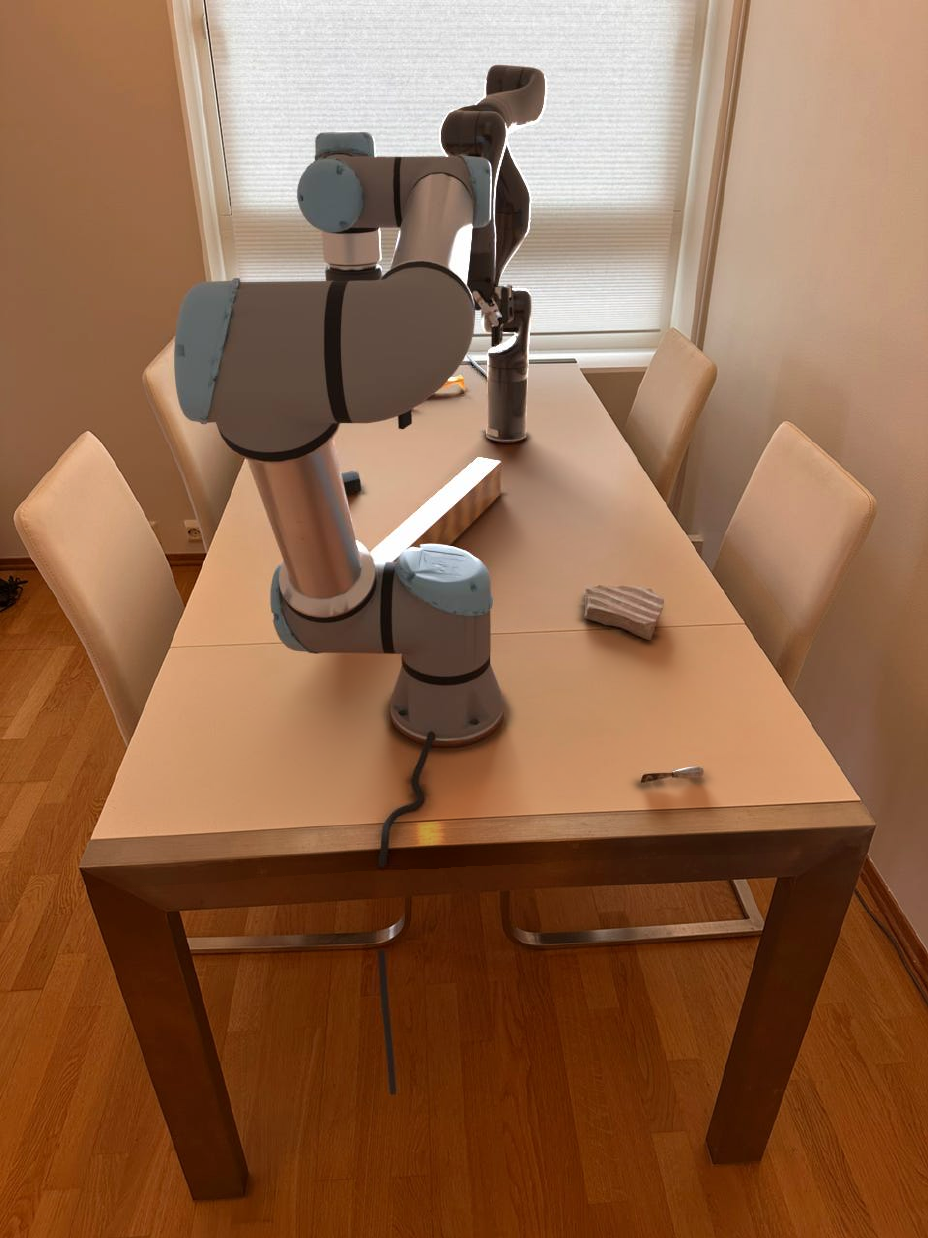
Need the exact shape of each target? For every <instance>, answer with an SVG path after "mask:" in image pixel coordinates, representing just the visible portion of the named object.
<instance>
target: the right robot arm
mask: <svg viewBox="0 0 928 1238" xmlns="http://www.w3.org/2000/svg"><path fill="white" fill-rule="evenodd" d="M547 88H548V85H547V78H546V76H545V74H544V72H543V71H542V70H541V69H539V68H535V67H532V66H523V65H509V64H495V65H492V66H490V67H489V69H488V71H487V74H486V78H485V83H484V96H483V97H482V98H480V99H479V101H477V102H476V103H474V104H471V105H466V106H465V105H464V106H461V107H458V108H455V109H452V110H450V111H449V112H448V113H447V114H446V116H445V117H444V119H443V120H442V123H441V125H440V128H439V144H440V147H441V150H442V152H443V153H444V154H445V156H457V155H463V156H470V157H482V158H485V159H487V160H488V161H489V163H490V165H491V219H490V222H489V224H488V225H487V226H484V227H479V228H472V234H471V244H470V255H469V266H468V277H467V286H468V288H469V290H470V292H471V294H472V297H473V301H474V305H475V311H479V312H480V319H481V326H482V329H483V331H485V332H486V333H488V334H491V335H490V337H491V343H490V345H491V348H490V349H489V350H488V352H487V356H486V357H487V363H486V364H487V365H486V366H487V367H486V368H487V371H486V370H485V369H484V368H483V367H482V366H480V365H479V364H478V363H477V362H476V361H475V360H474V359H473V358H472V356H471V355H470V354H466V357H467V359H468V360H469V362H470V363H471V364H472V366H473V367H475V368H476V369H477V370H478V371H479V372H480V373H481V374H483V375H484V377H486V378H487V379H486V381H487V382H486V383H487V384H486V385H487V386H486V431H485V433H486V435H485V436H486V438H487V439H488V440H490V441H492V442H496V443H503V444H510V443H511V444H512V443H518V442H521V441H524V440H525V439H526V438H527V420H528V419H527V417H528V416H527V413H528V389H529V388H528V386H529V383H528V382H529V353H530V351H529V349H530V331H531V322H532V321H531V319H532V305H533V304H532V296H531V293H530V292H529V290H528V289H527V288H519V287H518V288H513V285H512V284H507V285H500V281H501V278H502V276H503V274H504V271H505V269H506V268H507V266H508V264H509V263H510V261H511V259H512V258H513V257H514V255H515V254H516V253H517V251H518V250H519V248H520V247H521V246H522V244H523V242H524V241H525V239H526V237H527V235H528V233H529V231H530V222H531V219H530V218H531V203H532V197H531V191H530V188H529V185H528V183H527V180H526V179H525V177H524V175H523V174H522V172H521V169H520V168H519V166H518V164H517V162H516V161H515V158H514V156H513V154H512V152H511V149H510V146H509V142H508V135H509V134H511V133H513V132H514V131H516V130H518V129H521V128H524V127H526V126H528V125H534V124H536V123H538V122H539V121H540V119H541V118H542V116H543V114H544V111H545V108H546V100H547V94H548V93H547V92H548V91H547V90H548V89H547ZM503 334H513V335H512V337H511V338H510V339H508V340H507V341H504V342H503V339H504V338H503V337H504V336H503ZM502 342H503V343H502Z"/></svg>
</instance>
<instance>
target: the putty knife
mask: <svg viewBox="0 0 928 1238" xmlns="http://www.w3.org/2000/svg"><path fill="white" fill-rule="evenodd" d="M704 772H705V771H704V768H702V767H701V766H697V765H695V766H688V767H683V768H679V769H675V770H673V771H671V772H653V773H652V772H651V773H650V772H649V773H644V774H642V776H641V779H640V783H642V784H645V783H648V782H653V781H659V780H665V779H668V778H673V779H674V778H675V779H693V778H694V779H695V778H700V777H702V776H703V775H704Z"/></svg>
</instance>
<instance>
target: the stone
mask: <svg viewBox="0 0 928 1238" xmlns="http://www.w3.org/2000/svg"><path fill="white" fill-rule="evenodd" d="M664 605H665V599H664V598H663V596H660V595H659V594H656V593H655V592H654V591H653V589H652V588H643V587H640V586H639V587H638V586H636V585H631V584H630V585H620V586H615V585H608V584H599V585H596V586H590V585H587V586H586V587H585V593H584V609H585V612H584V616H583V617H584V619H586V620H589V621H593V622H596V623H599V624H603V625H605V626H614V627H617V628H621V629H622V630H625V631H628V632H630V633H631V634H634V635H635V636H637V637H640V638H642V639H644V640H648V641H650V640H652V636H653V635H654V633H655V629H656V625H657V624H658V623H659V620H660V618H661V614H662V613H663V611H664Z"/></svg>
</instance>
